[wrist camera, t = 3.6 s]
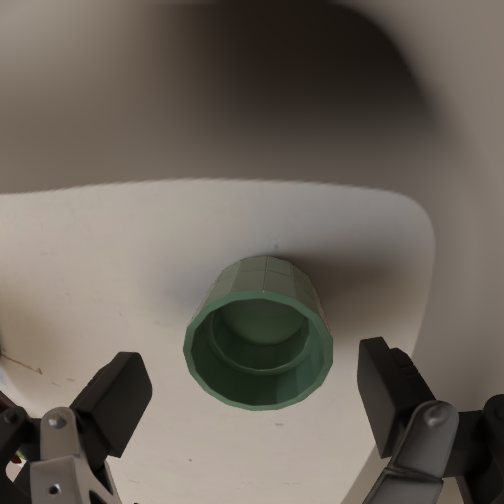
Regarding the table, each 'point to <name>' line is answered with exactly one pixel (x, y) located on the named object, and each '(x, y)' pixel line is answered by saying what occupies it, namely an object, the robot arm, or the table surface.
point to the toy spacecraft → (3, 403)
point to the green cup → (259, 336)
